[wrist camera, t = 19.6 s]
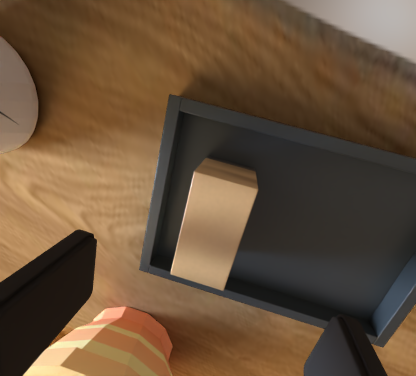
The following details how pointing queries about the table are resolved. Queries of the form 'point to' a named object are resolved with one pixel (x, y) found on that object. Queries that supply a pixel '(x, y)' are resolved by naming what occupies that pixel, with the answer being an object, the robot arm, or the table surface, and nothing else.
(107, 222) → the table surface
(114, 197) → the table surface
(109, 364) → the potted cactus
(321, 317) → the tray
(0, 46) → the mug
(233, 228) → the wooden block
